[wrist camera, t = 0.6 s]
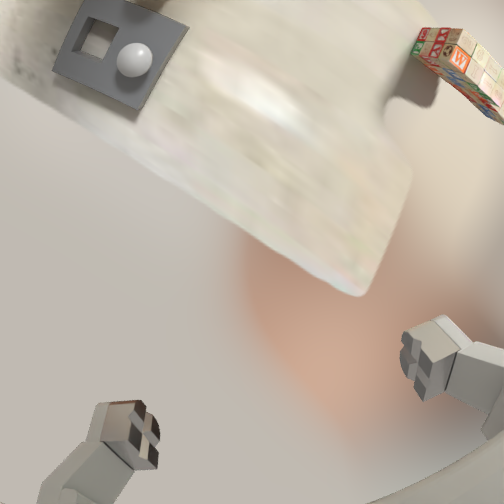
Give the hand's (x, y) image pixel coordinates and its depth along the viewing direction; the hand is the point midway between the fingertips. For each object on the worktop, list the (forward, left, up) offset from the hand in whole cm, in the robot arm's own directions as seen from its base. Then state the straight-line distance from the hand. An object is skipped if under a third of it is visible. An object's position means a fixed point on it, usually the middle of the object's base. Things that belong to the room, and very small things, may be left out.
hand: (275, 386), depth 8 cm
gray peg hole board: (-20, -13, -45) cm, 51 cm away
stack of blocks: (+8, +37, -45) cm, 59 cm away
